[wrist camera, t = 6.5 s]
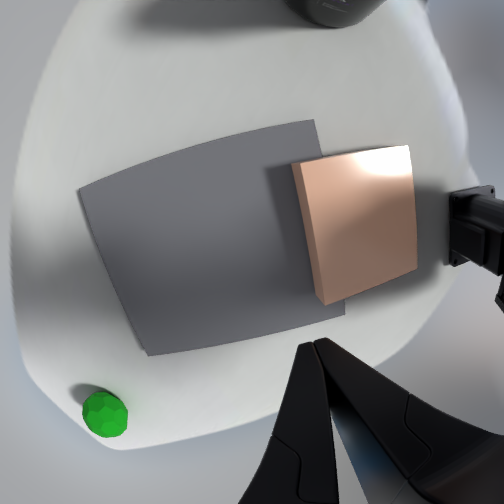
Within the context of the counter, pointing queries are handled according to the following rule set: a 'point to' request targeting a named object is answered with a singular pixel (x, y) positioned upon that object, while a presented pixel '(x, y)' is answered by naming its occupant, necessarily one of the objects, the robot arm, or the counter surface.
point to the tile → (358, 219)
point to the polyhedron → (105, 415)
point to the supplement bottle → (334, 11)
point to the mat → (211, 241)
